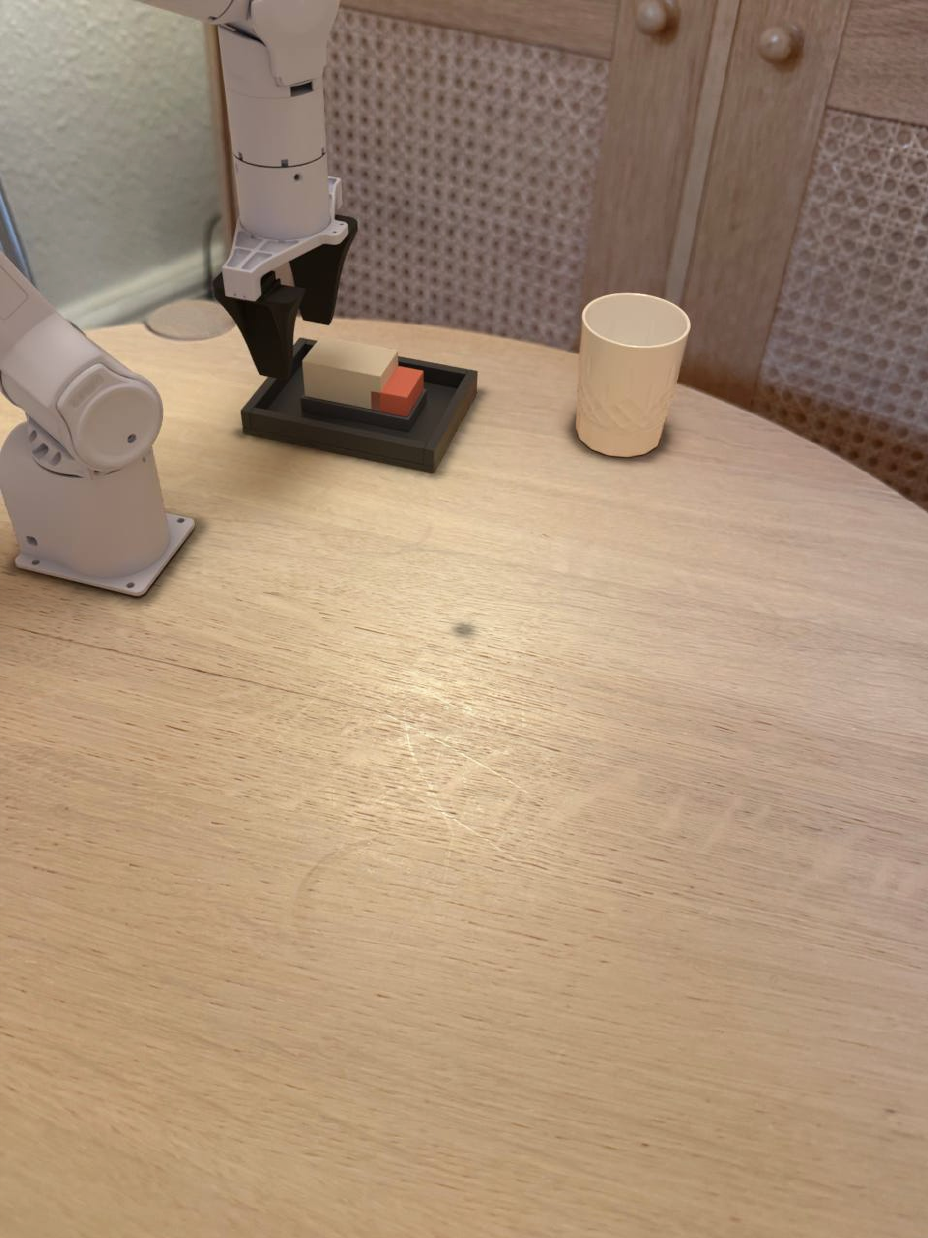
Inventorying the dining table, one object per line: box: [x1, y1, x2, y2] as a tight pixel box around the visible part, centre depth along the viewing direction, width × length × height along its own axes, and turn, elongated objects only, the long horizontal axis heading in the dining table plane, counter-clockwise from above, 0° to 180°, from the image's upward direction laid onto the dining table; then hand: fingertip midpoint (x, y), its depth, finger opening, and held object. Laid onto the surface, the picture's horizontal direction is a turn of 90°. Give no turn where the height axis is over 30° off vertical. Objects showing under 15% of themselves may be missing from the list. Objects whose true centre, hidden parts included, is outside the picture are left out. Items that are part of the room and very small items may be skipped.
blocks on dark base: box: [300, 335, 427, 432], centre depth 85 cm, size 9×4×4 cm, turn 73°
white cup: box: [575, 292, 692, 458], centre depth 82 cm, size 8×8×10 cm
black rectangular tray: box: [240, 337, 479, 474], centre depth 86 cm, size 16×12×2 cm
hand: (296, 346), depth 76 cm, fingers open, 7 cm apart
